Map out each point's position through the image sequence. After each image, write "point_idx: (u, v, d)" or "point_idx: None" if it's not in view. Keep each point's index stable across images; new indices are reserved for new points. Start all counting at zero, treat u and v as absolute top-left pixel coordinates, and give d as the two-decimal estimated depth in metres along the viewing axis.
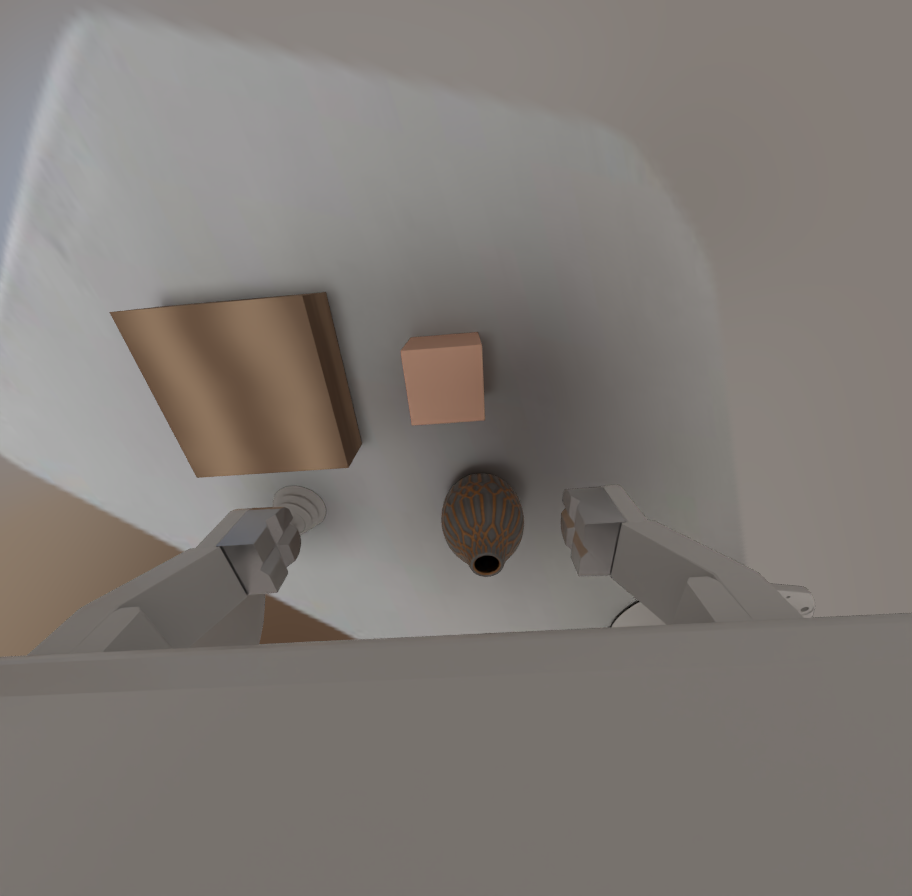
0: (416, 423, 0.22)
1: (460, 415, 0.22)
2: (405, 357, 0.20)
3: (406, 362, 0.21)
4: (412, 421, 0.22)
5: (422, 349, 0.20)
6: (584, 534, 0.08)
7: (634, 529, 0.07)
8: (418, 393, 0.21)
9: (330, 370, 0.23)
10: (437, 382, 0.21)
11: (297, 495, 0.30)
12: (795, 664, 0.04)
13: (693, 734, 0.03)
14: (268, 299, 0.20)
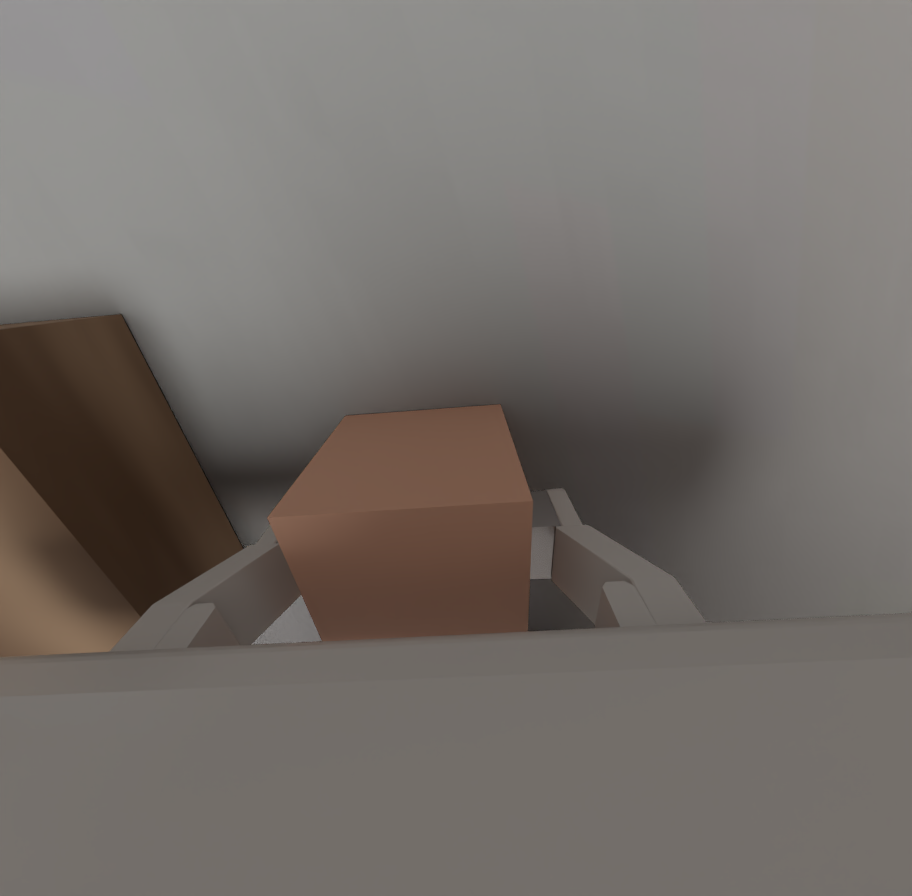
0: None
1: None
2: (287, 533, 0.06)
3: (293, 544, 0.07)
4: None
5: (339, 511, 0.06)
6: None
7: (565, 533, 0.07)
8: (342, 610, 0.07)
9: (133, 513, 0.09)
10: (394, 589, 0.07)
11: None
12: (795, 664, 0.04)
13: (693, 734, 0.03)
14: None
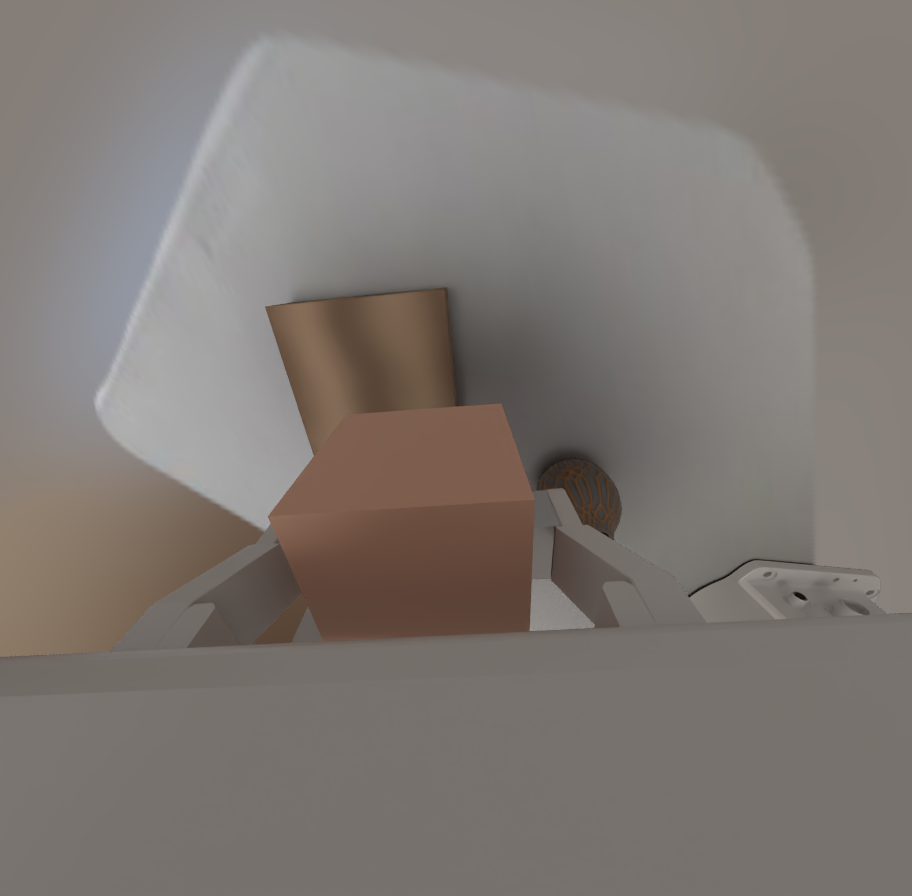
0: None
1: None
2: (288, 532, 0.06)
3: (295, 543, 0.07)
4: None
5: (340, 509, 0.06)
6: None
7: (566, 533, 0.07)
8: (342, 609, 0.07)
9: None
10: (395, 588, 0.07)
11: None
12: (795, 664, 0.04)
13: (693, 734, 0.03)
14: (412, 293, 0.21)
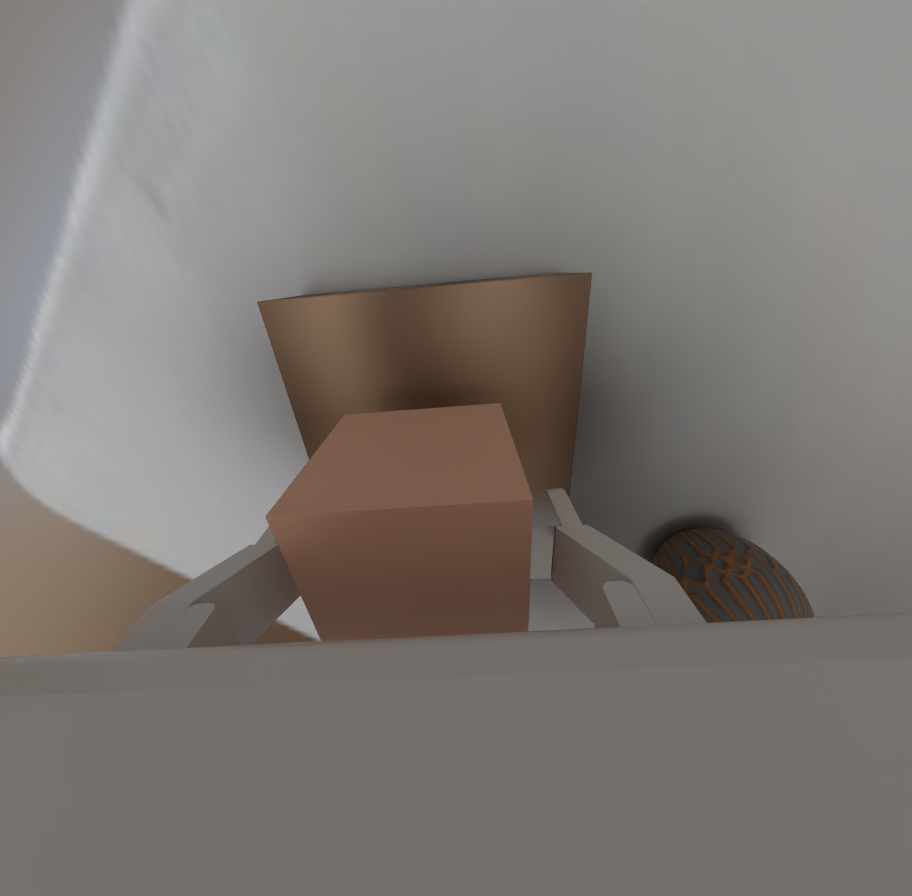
0: None
1: None
2: (285, 532, 0.06)
3: (293, 544, 0.07)
4: None
5: (338, 509, 0.06)
6: None
7: (566, 533, 0.07)
8: (340, 610, 0.07)
9: None
10: (393, 588, 0.07)
11: None
12: (795, 664, 0.04)
13: (693, 734, 0.03)
14: (532, 280, 0.12)
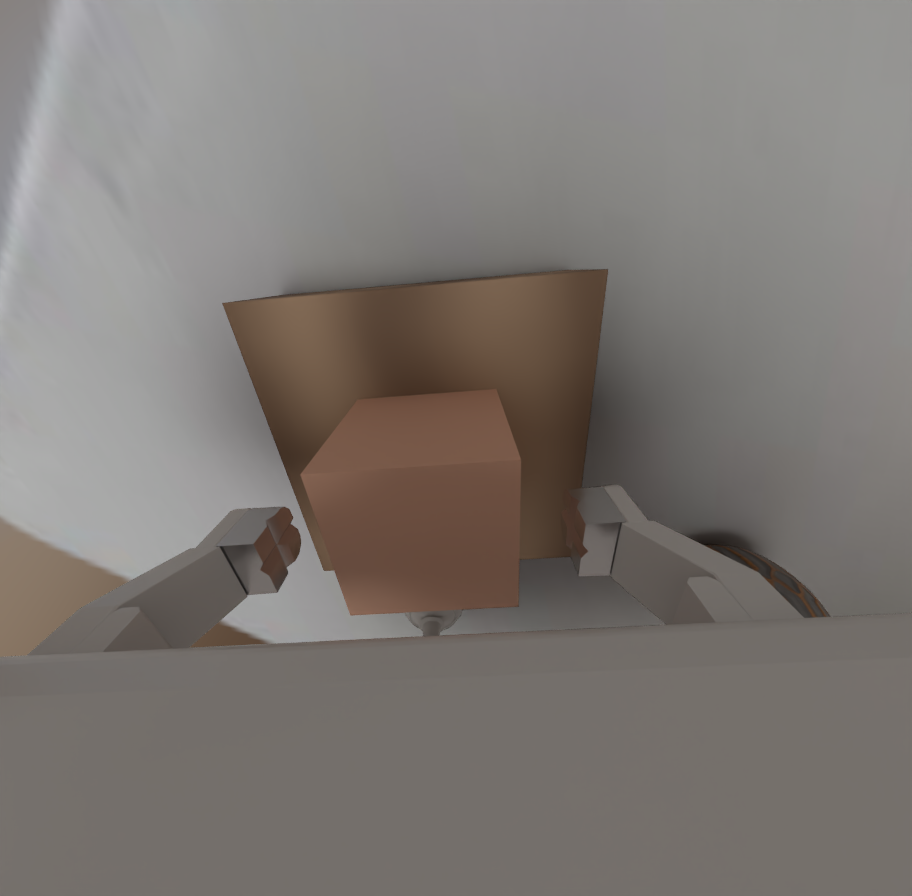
0: (360, 612, 0.10)
1: (462, 598, 0.10)
2: (316, 488, 0.08)
3: (321, 499, 0.08)
4: (351, 608, 0.10)
5: (360, 469, 0.08)
6: (584, 534, 0.08)
7: (634, 529, 0.07)
8: (359, 560, 0.09)
9: None
10: (404, 540, 0.08)
11: None
12: (795, 664, 0.04)
13: (693, 734, 0.03)
14: (539, 277, 0.10)
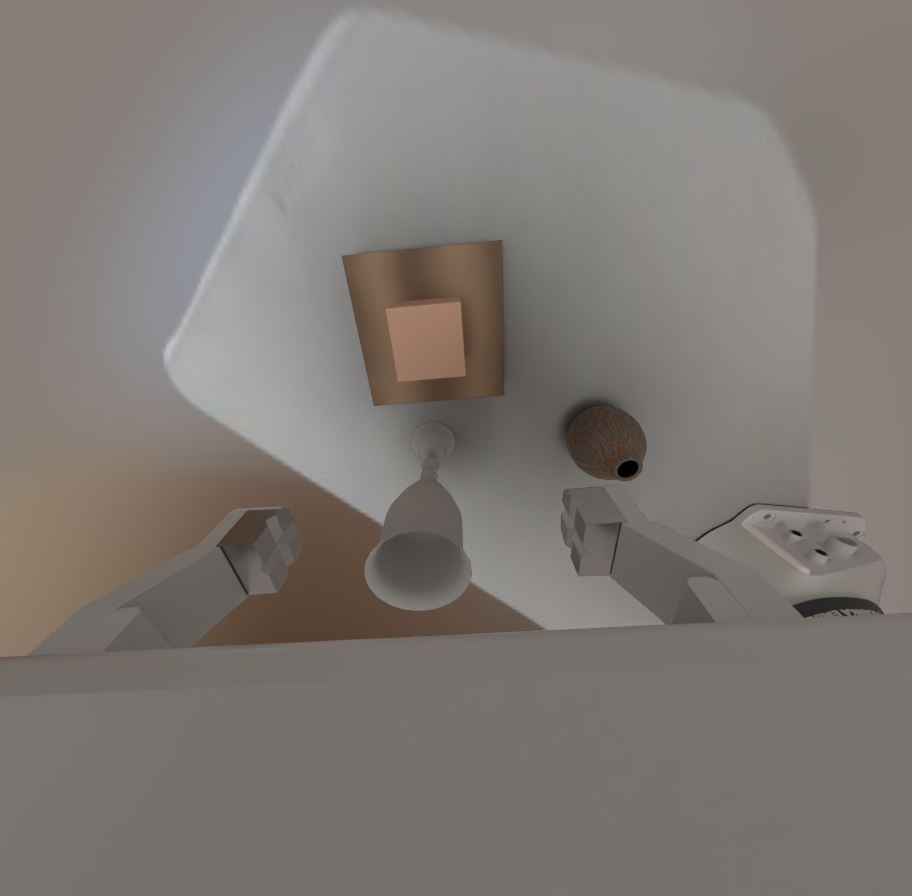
0: (402, 379, 0.24)
1: (443, 371, 0.24)
2: (390, 315, 0.22)
3: (391, 319, 0.22)
4: (398, 378, 0.24)
5: (405, 307, 0.22)
6: (584, 534, 0.08)
7: (634, 529, 0.07)
8: (403, 350, 0.23)
9: None
10: (420, 339, 0.23)
11: (437, 429, 0.35)
12: (795, 664, 0.04)
13: (693, 734, 0.03)
14: (474, 243, 0.24)
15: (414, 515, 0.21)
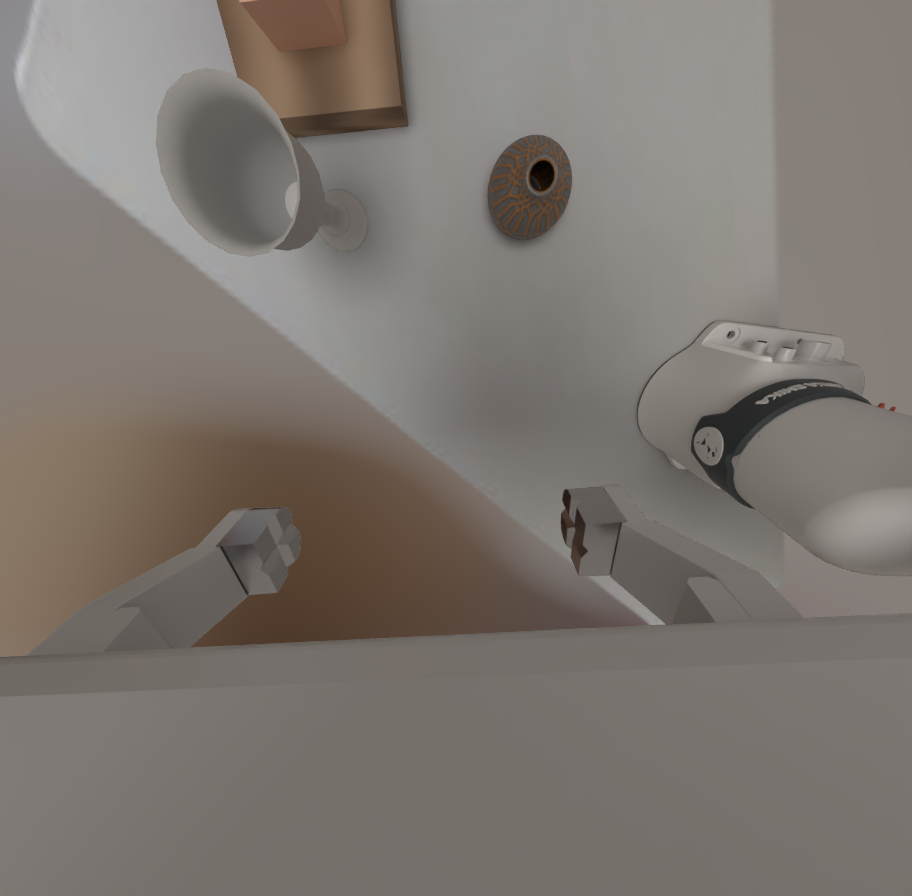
0: None
1: None
2: None
3: None
4: None
5: None
6: (584, 534, 0.08)
7: (634, 529, 0.07)
8: None
9: None
10: None
11: (342, 194, 0.31)
12: (795, 664, 0.04)
13: (693, 734, 0.03)
14: None
15: None
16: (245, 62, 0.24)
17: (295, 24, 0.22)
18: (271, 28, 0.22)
